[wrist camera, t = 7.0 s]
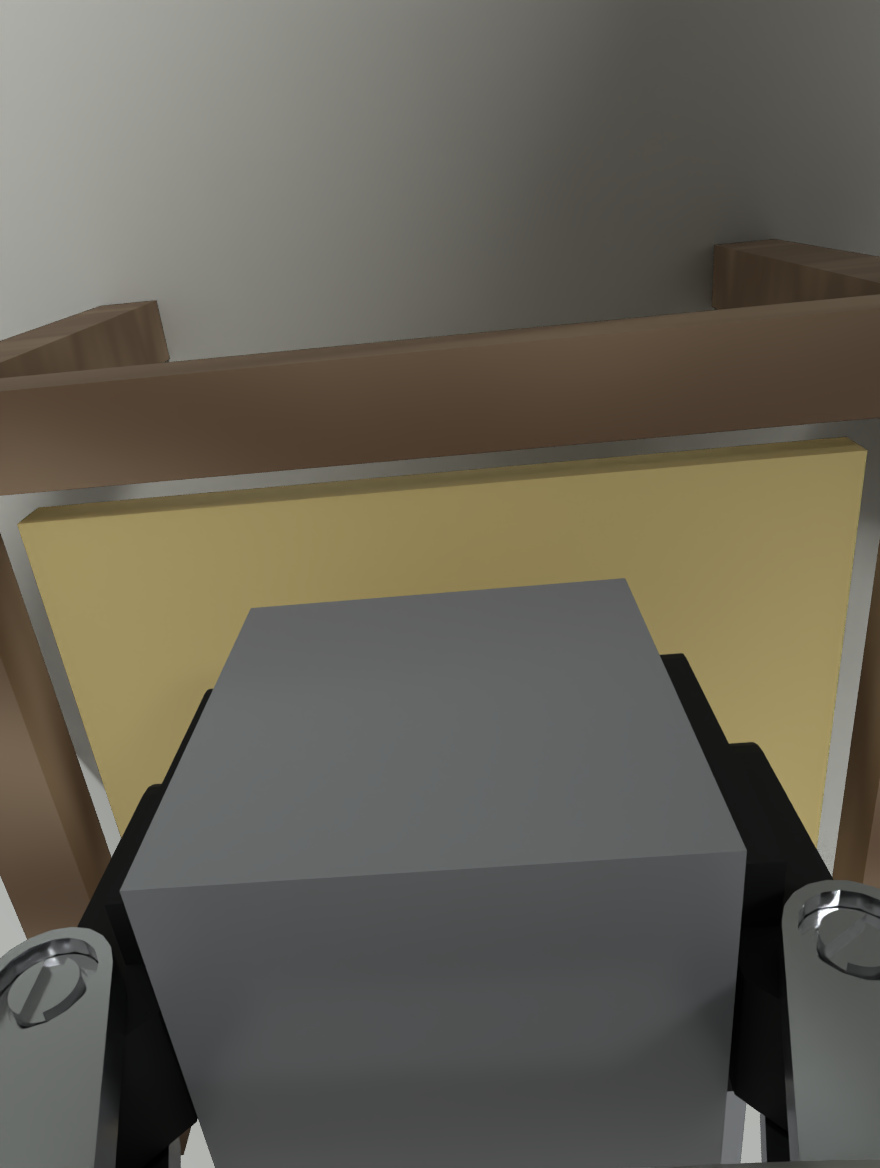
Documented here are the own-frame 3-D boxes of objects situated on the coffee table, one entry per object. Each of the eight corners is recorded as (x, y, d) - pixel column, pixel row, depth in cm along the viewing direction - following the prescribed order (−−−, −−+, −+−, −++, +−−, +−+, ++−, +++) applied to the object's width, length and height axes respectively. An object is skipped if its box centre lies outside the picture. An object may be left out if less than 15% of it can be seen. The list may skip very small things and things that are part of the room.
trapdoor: (94, 463, 17) (11, 527, 14) (789, 400, 17) (872, 453, 13) (276, 1111, 26) (251, 1243, 23) (731, 1088, 25) (772, 1220, 22)
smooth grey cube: (250, 607, 11) (119, 891, 7) (624, 578, 11) (746, 849, 7) (310, 885, 13) (240, 1239, 9) (624, 864, 13) (715, 1219, 9)
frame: (100, 306, 24) (-196, 409, 13) (774, 239, 23) (1074, 290, 12) (232, 822, 31) (119, 1158, 21) (735, 788, 31) (893, 1119, 20)
